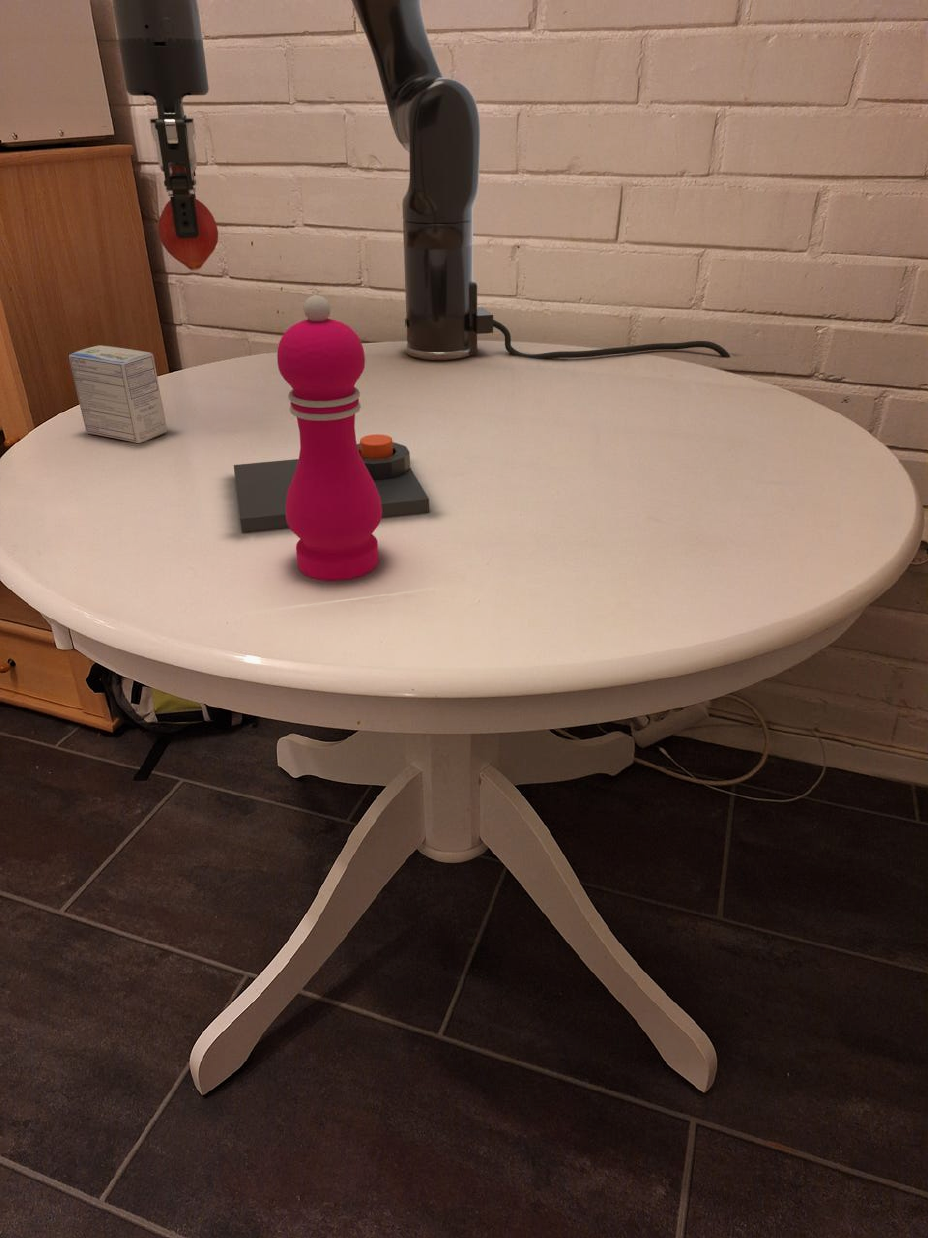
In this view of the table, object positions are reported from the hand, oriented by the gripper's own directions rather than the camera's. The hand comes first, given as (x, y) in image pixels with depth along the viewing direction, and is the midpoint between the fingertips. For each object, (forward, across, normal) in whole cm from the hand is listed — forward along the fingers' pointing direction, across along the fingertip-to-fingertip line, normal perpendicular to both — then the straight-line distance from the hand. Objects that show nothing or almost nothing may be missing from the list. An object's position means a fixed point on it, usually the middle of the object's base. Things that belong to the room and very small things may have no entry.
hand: (188, 232), depth 92 cm
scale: (+20, +25, +10) cm, 33 cm away
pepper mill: (+20, +39, +9) cm, 45 cm away
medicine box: (+20, +2, -9) cm, 22 cm away
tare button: (+17, +23, +15) cm, 32 cm away
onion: (+4, 0, 0) cm, 4 cm away
